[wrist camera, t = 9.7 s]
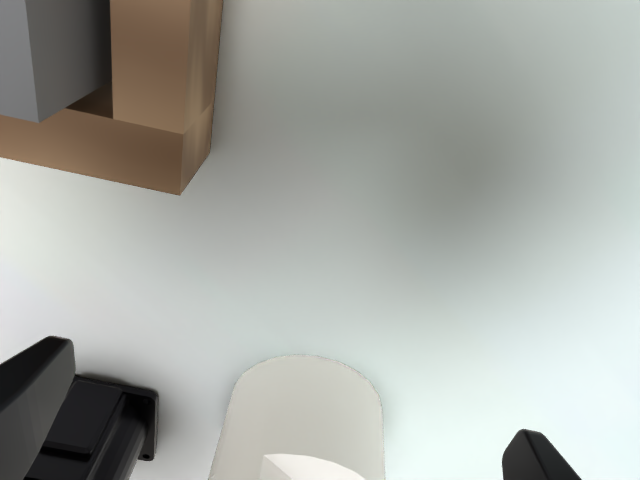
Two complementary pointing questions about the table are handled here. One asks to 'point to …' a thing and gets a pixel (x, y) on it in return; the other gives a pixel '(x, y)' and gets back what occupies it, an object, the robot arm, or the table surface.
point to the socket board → (137, 102)
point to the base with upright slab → (301, 424)
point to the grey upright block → (52, 54)
